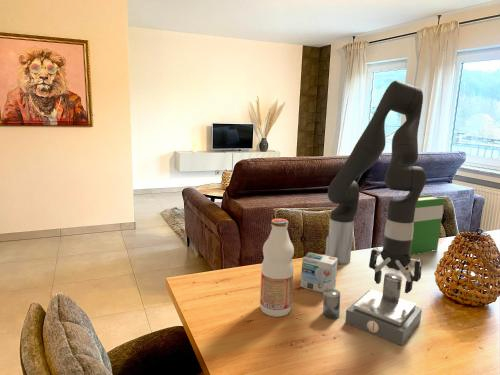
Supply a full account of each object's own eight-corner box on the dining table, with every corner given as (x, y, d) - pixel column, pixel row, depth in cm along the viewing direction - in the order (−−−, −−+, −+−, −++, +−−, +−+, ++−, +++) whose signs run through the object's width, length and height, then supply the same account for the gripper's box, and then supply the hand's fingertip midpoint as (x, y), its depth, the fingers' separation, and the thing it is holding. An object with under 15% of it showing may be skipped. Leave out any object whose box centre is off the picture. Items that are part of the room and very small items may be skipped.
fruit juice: (270, 320, 107) (275, 227, 101) (254, 305, 115) (257, 218, 109) (297, 313, 112) (303, 223, 106) (279, 298, 120) (284, 214, 114)
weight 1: (320, 316, 110) (321, 294, 109) (325, 308, 115) (326, 287, 113) (336, 320, 108) (337, 297, 107) (341, 312, 112) (342, 290, 111)
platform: (353, 308, 107) (354, 304, 107) (371, 292, 117) (372, 289, 116) (399, 326, 99) (400, 322, 98) (415, 307, 109) (415, 303, 108)
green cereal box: (423, 245, 174) (430, 194, 169) (437, 250, 167) (444, 198, 162) (394, 249, 166) (400, 197, 161) (407, 255, 160) (414, 201, 155)
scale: (344, 323, 107) (345, 309, 106) (367, 301, 120) (369, 289, 119) (401, 346, 97) (403, 331, 96) (420, 320, 110) (422, 307, 109)
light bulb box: (299, 287, 128) (301, 257, 126) (306, 279, 134) (308, 251, 132) (330, 295, 123) (332, 264, 121) (335, 287, 129) (338, 257, 127)
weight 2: (385, 292, 114) (388, 271, 113) (401, 298, 111) (404, 276, 110) (379, 298, 111) (382, 276, 109) (396, 304, 108) (398, 281, 106)
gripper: (428, 237, 105) (421, 291, 108) (378, 226, 114) (373, 276, 117) (420, 244, 99) (413, 300, 103) (369, 232, 108) (363, 284, 112)
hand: (392, 287), depth 110 cm, fingers open, 8 cm apart
